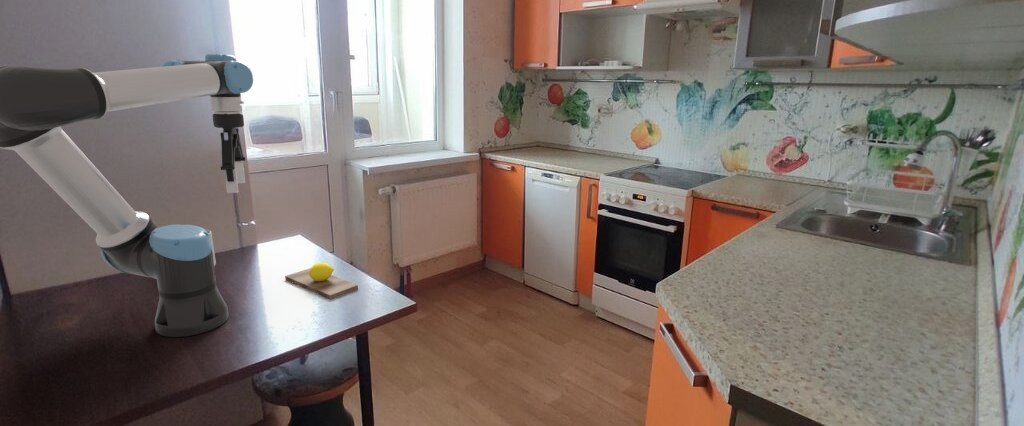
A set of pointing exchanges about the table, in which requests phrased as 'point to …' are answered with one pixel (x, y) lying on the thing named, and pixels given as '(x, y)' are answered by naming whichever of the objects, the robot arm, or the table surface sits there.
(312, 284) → the cutting board
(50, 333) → the table surface
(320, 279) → the lemon
